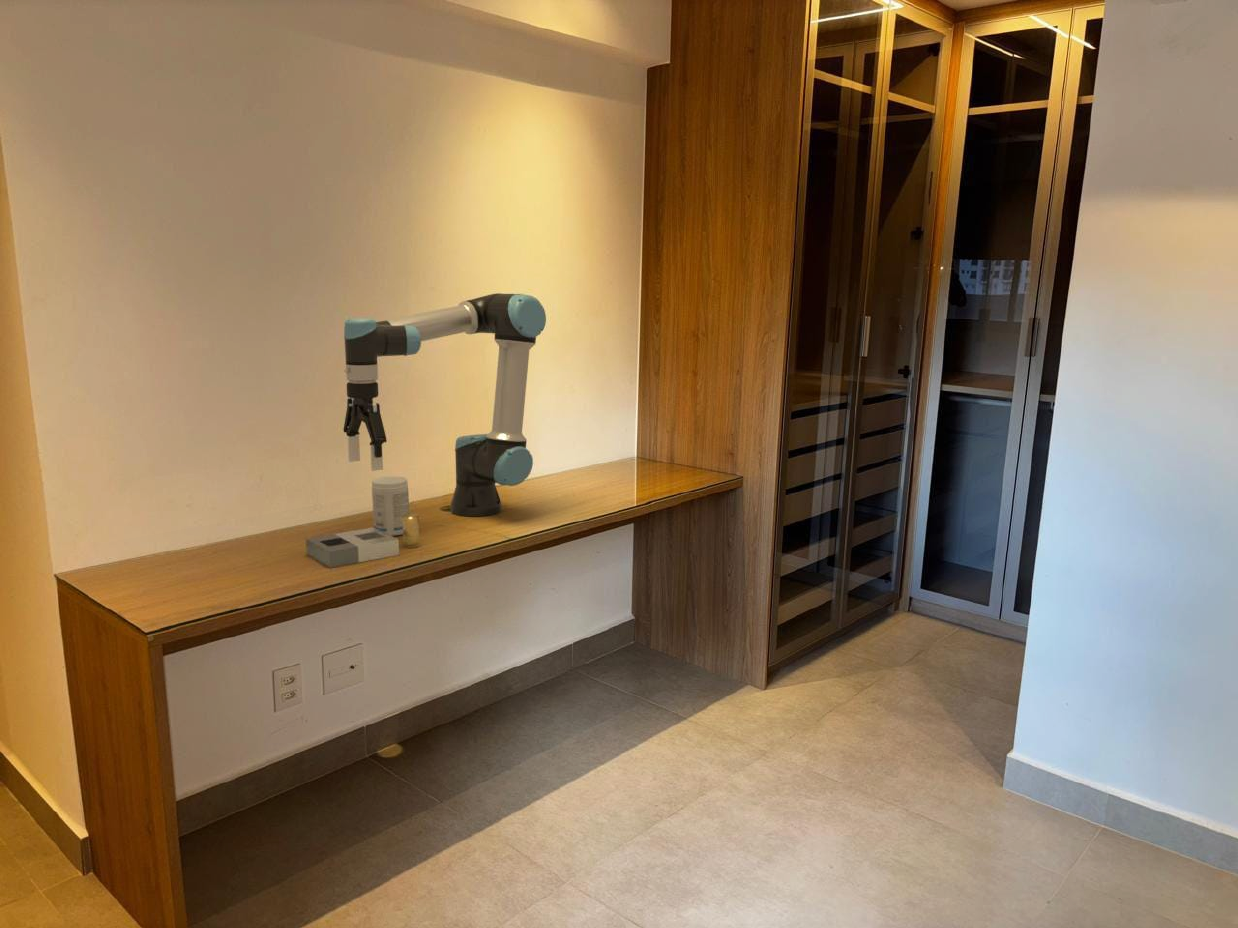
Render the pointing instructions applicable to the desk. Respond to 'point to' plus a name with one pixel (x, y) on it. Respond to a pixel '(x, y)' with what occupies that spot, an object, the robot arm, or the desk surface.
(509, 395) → the robot arm
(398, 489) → the supplement tub
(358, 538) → the block
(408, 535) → the amber translucent cylinder
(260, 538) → the desk surface
